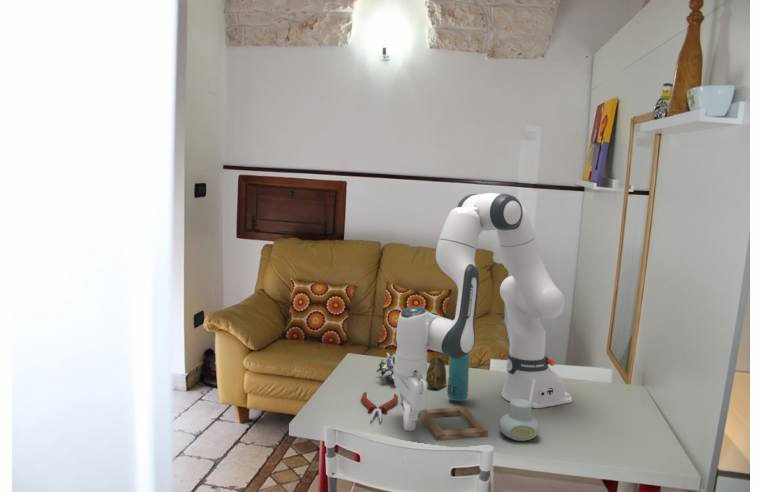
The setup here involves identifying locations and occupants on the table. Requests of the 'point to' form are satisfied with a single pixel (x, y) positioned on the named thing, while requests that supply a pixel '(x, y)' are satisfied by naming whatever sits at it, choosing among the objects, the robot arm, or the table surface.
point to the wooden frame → (440, 434)
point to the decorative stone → (436, 373)
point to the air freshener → (519, 421)
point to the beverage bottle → (458, 378)
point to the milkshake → (407, 416)
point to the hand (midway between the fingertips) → (408, 412)
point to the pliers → (381, 409)
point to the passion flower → (387, 366)
